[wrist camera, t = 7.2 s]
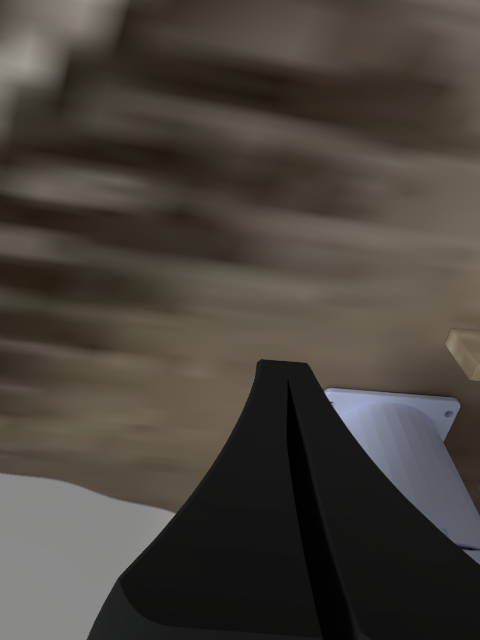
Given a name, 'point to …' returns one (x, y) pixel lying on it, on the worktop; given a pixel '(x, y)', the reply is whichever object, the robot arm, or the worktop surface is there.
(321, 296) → the worktop surface
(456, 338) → the lane
